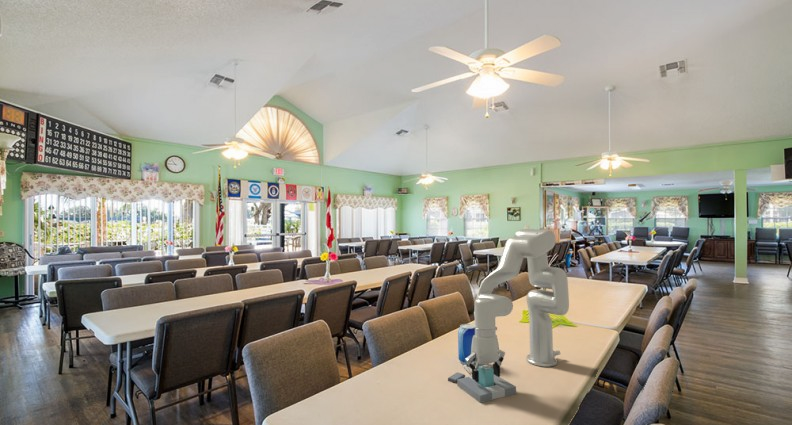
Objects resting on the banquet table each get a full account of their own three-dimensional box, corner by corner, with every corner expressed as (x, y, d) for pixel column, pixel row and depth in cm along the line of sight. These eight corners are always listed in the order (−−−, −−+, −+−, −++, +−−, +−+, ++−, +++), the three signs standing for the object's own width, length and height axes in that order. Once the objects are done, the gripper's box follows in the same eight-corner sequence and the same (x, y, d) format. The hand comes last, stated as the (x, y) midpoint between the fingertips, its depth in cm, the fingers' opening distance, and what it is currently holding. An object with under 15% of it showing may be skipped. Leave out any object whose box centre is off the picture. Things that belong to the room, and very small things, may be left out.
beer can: (466, 367, 151) (466, 329, 152) (454, 360, 159) (454, 325, 159) (481, 363, 155) (481, 327, 156) (469, 357, 163) (469, 322, 163)
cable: (463, 367, 151) (463, 364, 151) (465, 367, 152) (465, 364, 152) (472, 378, 141) (472, 375, 141) (475, 378, 141) (475, 375, 141)
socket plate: (491, 377, 141) (491, 371, 141) (516, 393, 128) (516, 386, 128) (457, 385, 134) (457, 379, 135) (480, 402, 122) (479, 395, 122)
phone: (457, 374, 144) (457, 372, 144) (465, 377, 142) (465, 374, 142) (448, 380, 139) (447, 377, 139) (455, 383, 136) (455, 380, 136)
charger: (486, 386, 134) (486, 363, 134) (493, 390, 130) (493, 367, 131) (478, 388, 132) (478, 365, 133) (485, 392, 129) (484, 369, 129)
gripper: (497, 326, 139) (498, 369, 138) (460, 332, 132) (460, 378, 131) (510, 331, 132) (511, 377, 132) (472, 338, 125) (473, 387, 125)
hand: (486, 377), depth 132 cm, fingers open, 9 cm apart
